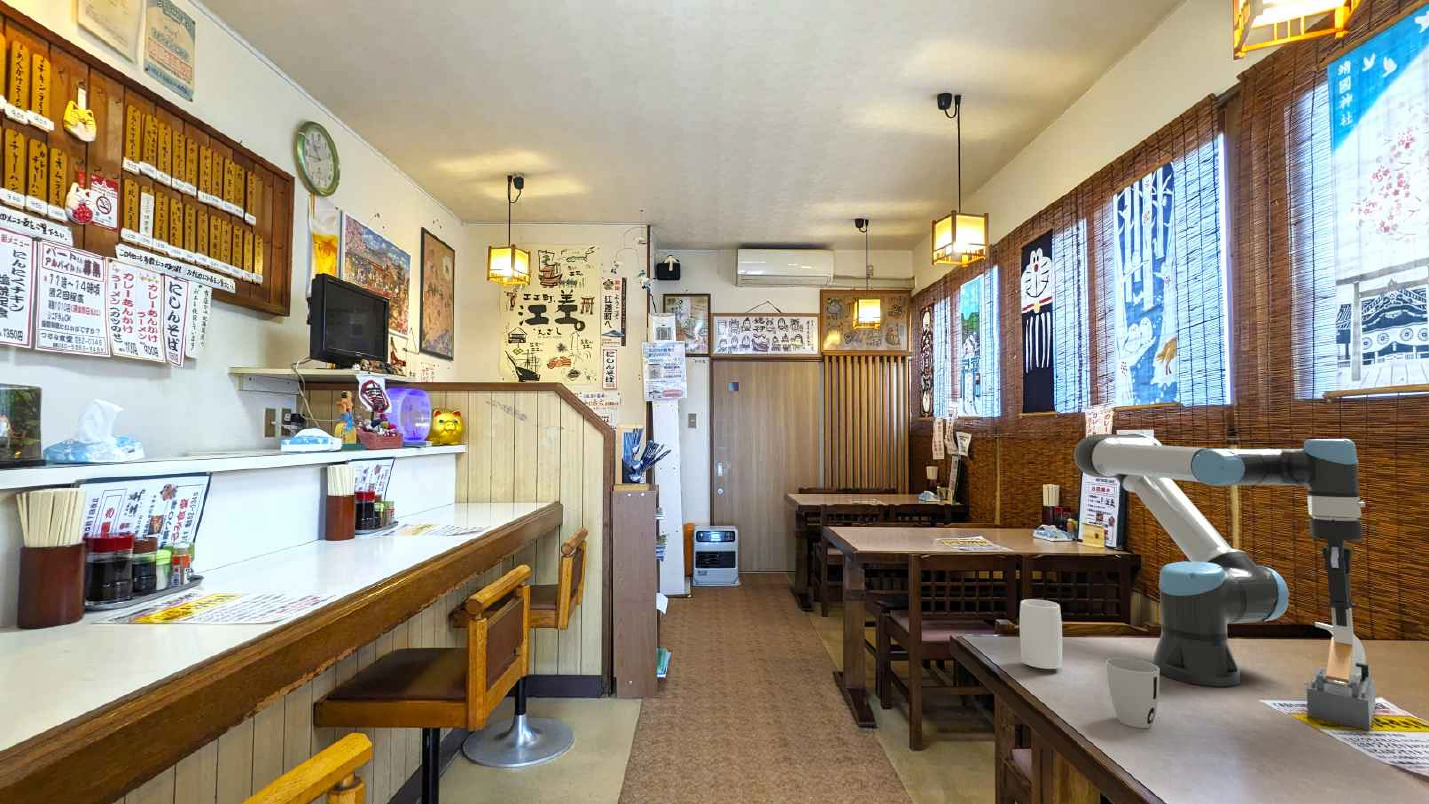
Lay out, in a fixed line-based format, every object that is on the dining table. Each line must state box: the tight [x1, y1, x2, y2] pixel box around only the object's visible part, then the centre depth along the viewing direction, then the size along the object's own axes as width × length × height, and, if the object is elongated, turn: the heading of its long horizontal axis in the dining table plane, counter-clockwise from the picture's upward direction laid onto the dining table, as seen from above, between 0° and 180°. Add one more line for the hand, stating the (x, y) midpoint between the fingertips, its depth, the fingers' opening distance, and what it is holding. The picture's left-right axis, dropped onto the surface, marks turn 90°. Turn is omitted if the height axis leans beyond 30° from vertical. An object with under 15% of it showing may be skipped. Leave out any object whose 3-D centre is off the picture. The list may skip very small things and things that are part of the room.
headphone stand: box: [1314, 622, 1366, 676], centre depth 137 cm, size 5×6×12 cm
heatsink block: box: [1306, 662, 1376, 731], centre depth 123 cm, size 16×8×8 cm, turn 132°
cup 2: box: [1105, 657, 1160, 729], centre depth 118 cm, size 8×8×10 cm
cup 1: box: [1019, 598, 1063, 670], centre depth 146 cm, size 8×8×14 cm
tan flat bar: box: [1326, 636, 1354, 683], centre depth 124 cm, size 13×3×1 cm, turn 133°
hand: (1343, 641), depth 127 cm, fingers closed
